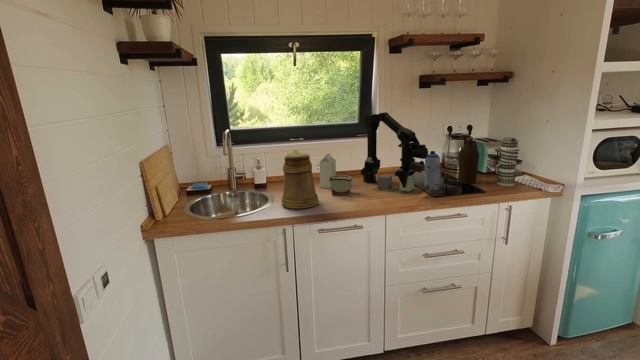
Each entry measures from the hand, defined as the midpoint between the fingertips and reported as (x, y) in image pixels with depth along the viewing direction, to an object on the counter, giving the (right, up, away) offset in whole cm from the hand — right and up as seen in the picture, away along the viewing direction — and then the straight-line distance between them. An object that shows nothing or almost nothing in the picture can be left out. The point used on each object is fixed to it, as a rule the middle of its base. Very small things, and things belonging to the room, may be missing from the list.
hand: (406, 186), depth 178 cm
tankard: (-55, -8, -5) cm, 56 cm away
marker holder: (-5, -3, +4) cm, 7 cm away
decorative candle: (+57, +1, +10) cm, 58 cm away
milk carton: (-40, -1, +20) cm, 45 cm away
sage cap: (0, -1, 0) cm, 2 cm away
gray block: (-10, -1, +7) cm, 12 cm away
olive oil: (+39, +2, +18) cm, 42 cm away
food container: (-33, -5, +4) cm, 33 cm away
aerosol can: (+16, -1, +9) cm, 18 cm away
